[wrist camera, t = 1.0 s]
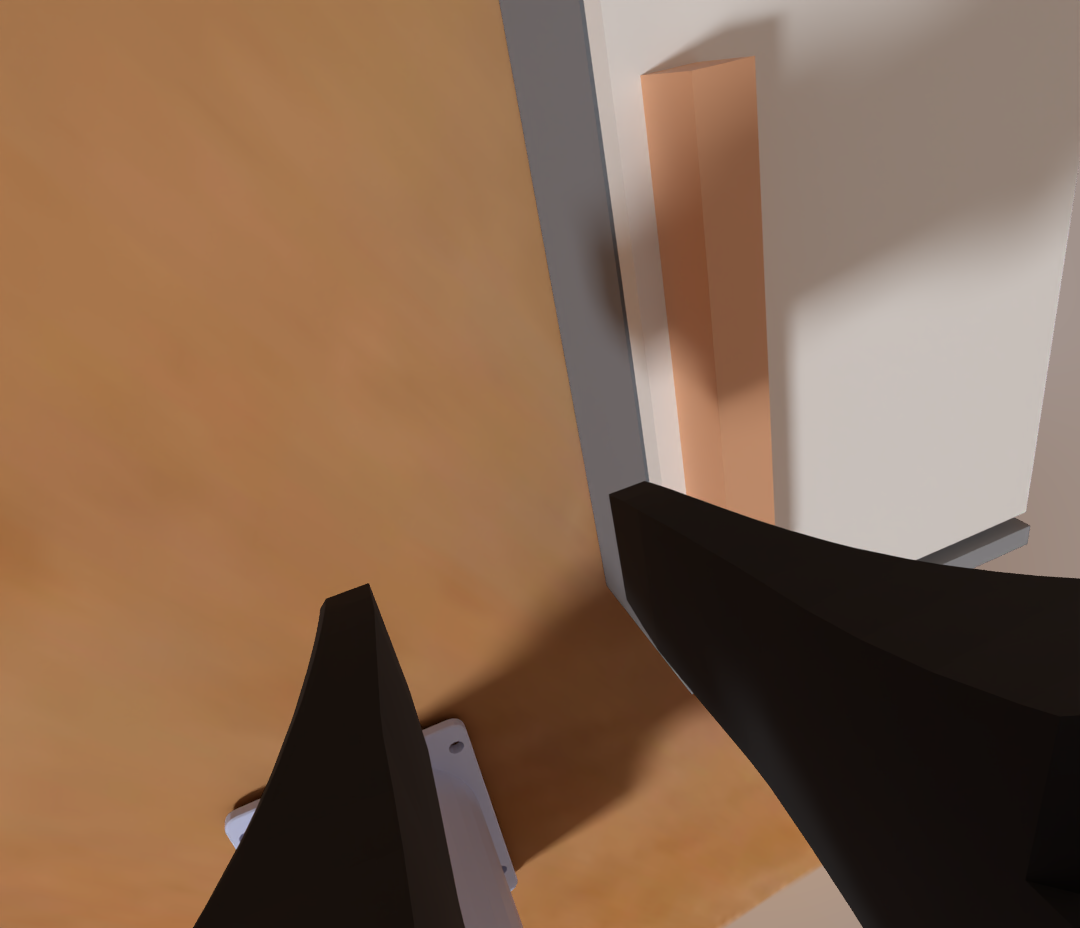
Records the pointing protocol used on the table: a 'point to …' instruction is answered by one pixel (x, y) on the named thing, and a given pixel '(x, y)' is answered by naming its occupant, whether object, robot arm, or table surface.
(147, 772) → the table surface
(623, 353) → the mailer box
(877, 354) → the lid
